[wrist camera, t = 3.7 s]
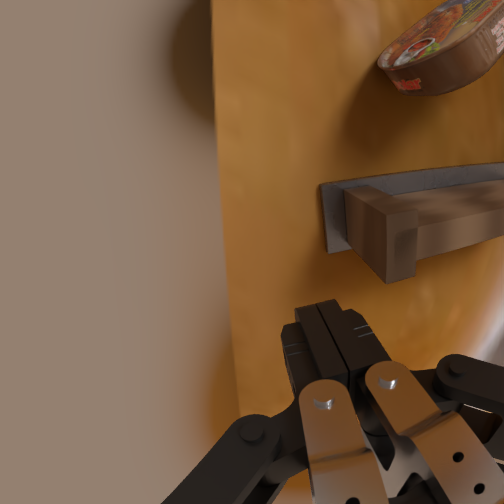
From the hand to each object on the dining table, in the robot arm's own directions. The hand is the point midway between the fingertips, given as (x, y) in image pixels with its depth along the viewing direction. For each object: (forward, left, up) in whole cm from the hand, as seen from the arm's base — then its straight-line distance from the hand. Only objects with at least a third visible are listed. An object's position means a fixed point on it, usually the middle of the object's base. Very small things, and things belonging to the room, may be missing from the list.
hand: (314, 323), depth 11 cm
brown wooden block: (-15, 0, -11) cm, 18 cm away
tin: (-15, -13, -11) cm, 23 cm away
